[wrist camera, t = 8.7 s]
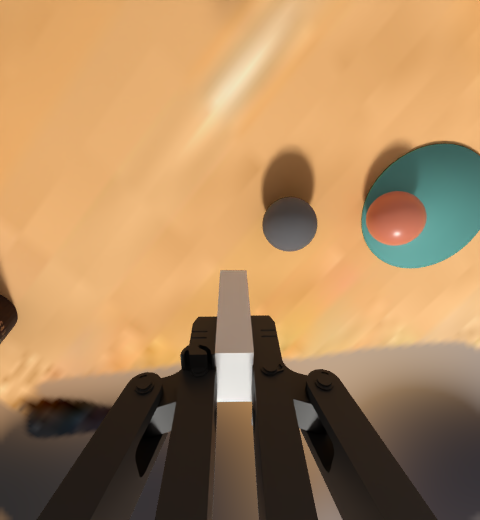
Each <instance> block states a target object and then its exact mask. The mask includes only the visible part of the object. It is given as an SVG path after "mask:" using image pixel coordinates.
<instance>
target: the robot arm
mask: <svg viewBox="0 0 480 520" xmlns="http://www.w3.org/2000/svg"><path fill="white" fill-rule="evenodd" d="M180 356H181V366H182V369H181V370H180V371H179V372H177V373H176V374H174V375H171V376H168V377H165V378H160V377H159V376H158V375H157V374H155V373H148V372H146V373H142V374H139V375H137V376H135V377H134V378H132V379H131V380H130V382H129V383H128V384H127V386H126V387H125V388H124V390H123V391H122V393H121V394H120V396H119V398H118V399H117V400H116V402H115V403H114V405H113V406H112V408H111V409H110V411H109V412H108V414H107V415H106V417H105V418H104V420H103V421H102V423H101V424H100V426H99V427H98V429H97V430H96V432H95V433H94V435H93V436H92V438H91V439H90V441H89V443H88V444H87V445H86V447H85V448H84V450H83V451H82V453H81V454H80V456H79V457H78V459H77V460H76V462H75V464H74V465H73V466H72V468H71V469H70V471H69V472H68V474H67V476H66V477H65V478H64V480H63V481H62V483H61V484H60V486H59V487H58V489H57V490H56V492H55V493H54V495H53V496H52V498H51V499H50V501H49V502H48V504H47V505H46V507H45V508H44V510H43V511H42V513H41V514H40V516H39V517H38V519H37V520H130V517H131V515H132V513H133V511H134V509H135V506H136V504H137V502H138V499H139V497H140V495H141V493H142V491H143V488H144V486H145V484H146V482H147V479H148V477H149V475H150V473H151V470H152V468H153V466H154V464H155V461H156V459H157V457H158V455H159V452H160V450H161V448H162V446H163V443H164V441H165V439H166V436H167V434H168V432H169V431H171V434H170V439H169V445H168V450H167V456H166V461H165V467H164V473H163V478H162V484H161V489H160V495H159V500H158V505H157V511H156V517H155V520H212V518H213V495H214V471H215V448H216V424H217V402H234V401H236V402H237V401H252V405H253V406H252V425H253V435H254V450H255V467H256V482H257V498H258V513H259V520H318V518H317V513H316V508H315V503H314V499H313V494H312V489H311V484H310V479H309V474H308V469H307V465H306V460H305V455H304V450H303V445H302V440H301V435H300V431H299V428H300V429H301V432H302V434H303V436H304V438H305V440H306V442H307V444H308V447H309V448H310V451H311V453H312V455H313V457H314V459H315V461H316V464H317V466H318V468H319V470H320V472H321V474H322V476H323V478H324V481H325V483H326V485H327V487H328V489H329V491H330V493H331V496H332V498H333V500H334V502H335V504H336V506H337V508H338V510H339V513H340V515H341V517H342V519H343V520H437V518H436V517H435V515H434V514H433V513H432V511H431V510H430V508H429V507H428V505H427V504H426V503H425V501H424V500H423V498H422V497H421V495H420V494H419V492H418V491H417V490H416V488H415V487H414V485H413V484H412V482H411V481H410V480H409V478H408V477H407V475H406V474H405V472H404V471H403V469H402V468H401V467H400V465H399V464H398V462H397V461H396V460H395V458H394V457H393V455H392V454H391V452H390V451H389V450H388V448H387V447H386V445H385V444H384V442H383V441H382V439H381V438H380V436H379V435H378V434H377V432H376V431H375V429H374V428H373V427H372V425H371V424H370V422H369V421H368V419H367V418H366V416H365V415H364V414H363V412H362V411H361V409H360V408H359V406H358V405H357V404H356V402H355V401H354V399H353V398H352V397H351V395H350V394H349V392H348V391H347V389H346V388H345V387H344V385H343V383H342V382H341V381H340V379H339V378H338V377H337V376H336V375H335V374H333V373H332V372H330V371H327V370H323V369H319V370H314V371H312V372H310V373H309V375H308V376H307V375H303V374H299V373H296V372H293V371H292V370H290V369H289V368H287V367H286V366H285V364H284V363H283V361H282V357H281V352H280V347H279V342H278V337H277V332H276V327H275V322H274V321H273V320H272V318H271V317H270V316H251V315H250V304H249V293H248V282H247V271H246V270H220V283H219V298H218V314H217V317H198V318H197V319H196V320H195V322H194V323H193V327H192V333H191V339H190V344H189V346H187V347H186V348H184V349H183V350H182V352H181V355H180Z"/></svg>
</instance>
